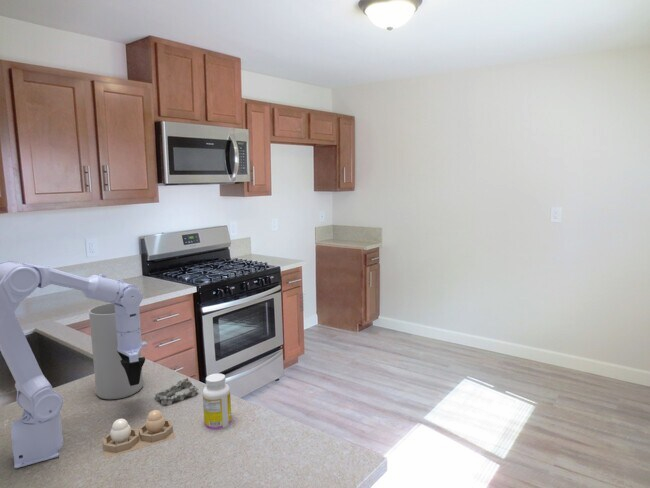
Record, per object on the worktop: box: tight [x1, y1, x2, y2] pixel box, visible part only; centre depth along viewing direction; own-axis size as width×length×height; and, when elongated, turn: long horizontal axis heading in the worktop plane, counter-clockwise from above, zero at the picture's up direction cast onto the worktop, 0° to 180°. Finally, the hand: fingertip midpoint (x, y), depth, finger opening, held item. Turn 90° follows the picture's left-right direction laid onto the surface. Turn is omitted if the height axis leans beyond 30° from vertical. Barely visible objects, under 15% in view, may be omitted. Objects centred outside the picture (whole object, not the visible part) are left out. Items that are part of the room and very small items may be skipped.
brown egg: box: [144, 409, 166, 435], centre depth 105 cm, size 4×4×6 cm
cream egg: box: [109, 418, 132, 445], centre depth 101 cm, size 4×4×6 cm
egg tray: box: [101, 418, 177, 459], centre depth 104 cm, size 15×9×2 cm, turn 120°
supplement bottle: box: [202, 373, 233, 430], centre depth 109 cm, size 7×7×13 cm
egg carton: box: [154, 377, 199, 406], centre depth 124 cm, size 11×8×4 cm
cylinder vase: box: [88, 303, 144, 400], centre depth 128 cm, size 12×12×25 cm
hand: (132, 378), depth 116 cm, fingers open, 7 cm apart
